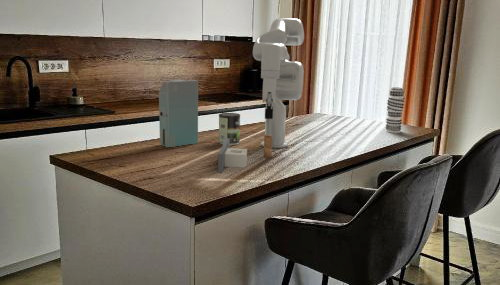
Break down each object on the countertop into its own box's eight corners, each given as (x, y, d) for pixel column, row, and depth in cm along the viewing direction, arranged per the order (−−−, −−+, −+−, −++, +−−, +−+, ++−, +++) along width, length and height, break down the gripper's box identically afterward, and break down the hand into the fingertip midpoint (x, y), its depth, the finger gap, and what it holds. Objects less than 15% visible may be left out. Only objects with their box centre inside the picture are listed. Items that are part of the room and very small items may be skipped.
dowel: (263, 157, 196) (264, 134, 194) (271, 157, 196) (272, 135, 194) (263, 159, 193) (264, 136, 191) (271, 159, 193) (271, 136, 191)
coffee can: (241, 141, 227) (242, 113, 224) (237, 145, 217) (237, 116, 214) (221, 140, 229) (221, 112, 226) (215, 144, 219) (216, 115, 216)
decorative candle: (403, 133, 259) (408, 88, 254) (387, 132, 259) (391, 88, 254) (398, 130, 268) (403, 87, 263) (382, 129, 268) (386, 86, 263)
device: (189, 140, 225) (188, 79, 219) (198, 143, 220) (198, 80, 213) (159, 145, 214) (158, 80, 208) (168, 148, 209) (167, 82, 202)
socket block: (227, 160, 187) (227, 148, 186) (246, 160, 187) (247, 148, 186) (224, 166, 178) (224, 154, 177) (245, 167, 177) (245, 154, 176)
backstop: (225, 156, 196) (226, 138, 195) (269, 158, 196) (269, 139, 194) (218, 175, 169) (218, 154, 167) (268, 177, 168) (269, 155, 167)
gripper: (261, 72, 196) (260, 113, 199) (260, 75, 179) (259, 120, 182) (279, 73, 195) (277, 114, 199) (279, 76, 178) (278, 120, 182)
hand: (268, 116), depth 191 cm, fingers open, 8 cm apart
